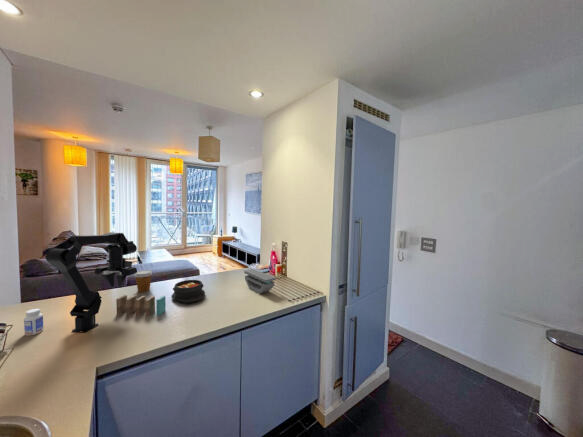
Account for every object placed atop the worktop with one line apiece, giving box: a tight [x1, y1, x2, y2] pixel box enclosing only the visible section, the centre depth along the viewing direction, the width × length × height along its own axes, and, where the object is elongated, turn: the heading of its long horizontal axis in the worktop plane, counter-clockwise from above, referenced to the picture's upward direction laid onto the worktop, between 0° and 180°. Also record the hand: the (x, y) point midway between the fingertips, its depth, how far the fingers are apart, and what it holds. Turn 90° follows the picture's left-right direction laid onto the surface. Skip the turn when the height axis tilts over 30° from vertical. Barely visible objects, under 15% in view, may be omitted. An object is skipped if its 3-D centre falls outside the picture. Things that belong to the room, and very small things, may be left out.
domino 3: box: [135, 295, 146, 316], centre depth 118 cm, size 5×2×8 cm, turn 177°
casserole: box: [171, 279, 206, 304], centre depth 139 cm, size 25×19×8 cm
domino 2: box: [125, 294, 137, 316], centre depth 118 cm, size 5×2×8 cm, turn 177°
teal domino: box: [155, 295, 166, 316], centre depth 118 cm, size 5×2×8 cm, turn 177°
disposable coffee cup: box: [134, 269, 153, 293], centre depth 147 cm, size 10×10×12 cm
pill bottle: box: [23, 308, 44, 337], centre depth 98 cm, size 5×5×10 cm
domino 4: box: [144, 295, 156, 317], centre depth 118 cm, size 5×2×8 cm, turn 177°
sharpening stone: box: [243, 268, 276, 295], centre depth 153 cm, size 25×8×11 cm, turn 43°
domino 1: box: [115, 294, 128, 315], centre depth 118 cm, size 5×2×8 cm, turn 177°
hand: (116, 287), depth 118 cm, fingers open, 4 cm apart
